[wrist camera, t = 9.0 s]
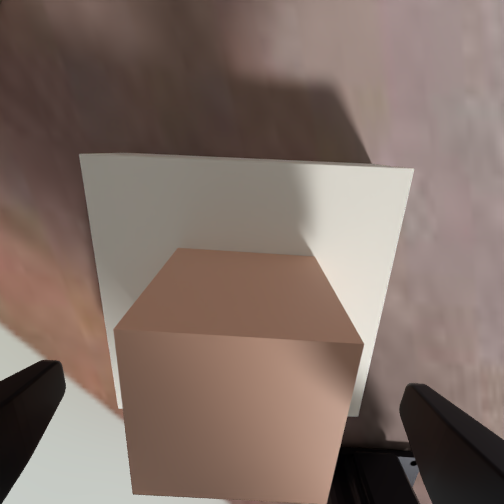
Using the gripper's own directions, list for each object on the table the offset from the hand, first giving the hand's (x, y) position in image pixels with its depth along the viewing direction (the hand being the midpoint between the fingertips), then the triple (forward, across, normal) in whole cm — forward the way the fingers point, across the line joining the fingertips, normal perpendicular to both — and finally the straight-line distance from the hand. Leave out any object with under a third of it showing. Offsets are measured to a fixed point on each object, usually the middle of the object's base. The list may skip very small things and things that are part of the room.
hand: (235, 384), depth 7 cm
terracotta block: (+4, 0, 0) cm, 4 cm away
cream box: (+8, 0, 0) cm, 8 cm away
